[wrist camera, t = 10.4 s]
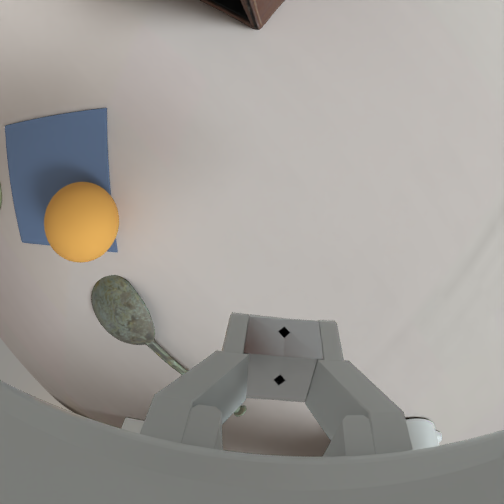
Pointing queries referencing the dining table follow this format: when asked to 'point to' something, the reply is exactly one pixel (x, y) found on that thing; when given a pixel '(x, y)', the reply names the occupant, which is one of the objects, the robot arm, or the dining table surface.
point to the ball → (81, 222)
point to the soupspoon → (129, 318)
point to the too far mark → (0, 196)
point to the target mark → (54, 163)
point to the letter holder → (247, 10)
